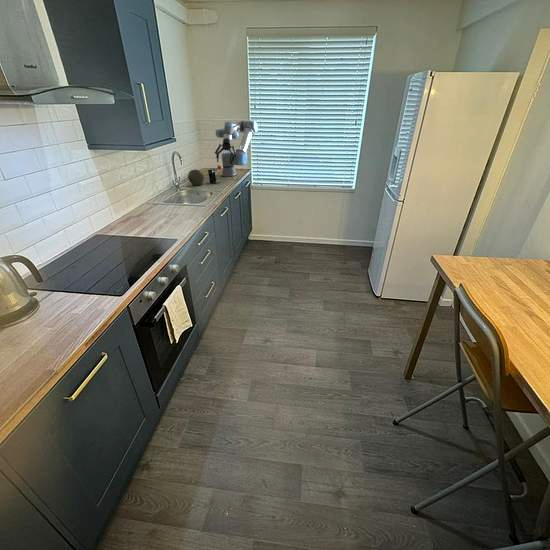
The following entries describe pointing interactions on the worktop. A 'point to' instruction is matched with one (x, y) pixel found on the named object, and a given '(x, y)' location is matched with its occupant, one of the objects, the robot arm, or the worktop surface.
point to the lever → (217, 168)
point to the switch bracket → (212, 177)
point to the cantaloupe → (195, 177)
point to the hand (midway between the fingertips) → (224, 163)
